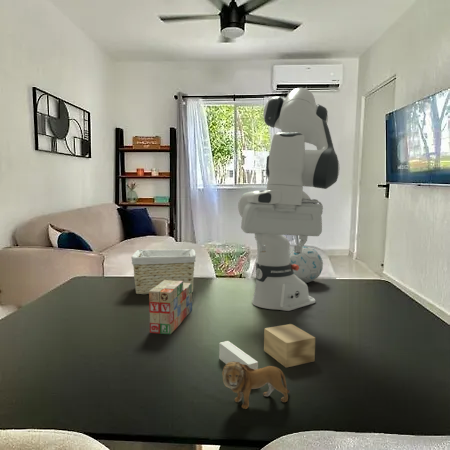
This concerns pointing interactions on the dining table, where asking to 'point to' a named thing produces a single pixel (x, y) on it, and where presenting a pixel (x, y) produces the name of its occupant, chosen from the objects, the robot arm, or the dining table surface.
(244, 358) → the fence board
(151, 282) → the storage basket
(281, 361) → the oak block
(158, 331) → the stack of blocks
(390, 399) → the dining table surface
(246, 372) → the lion figurine
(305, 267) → the puzzle ball
